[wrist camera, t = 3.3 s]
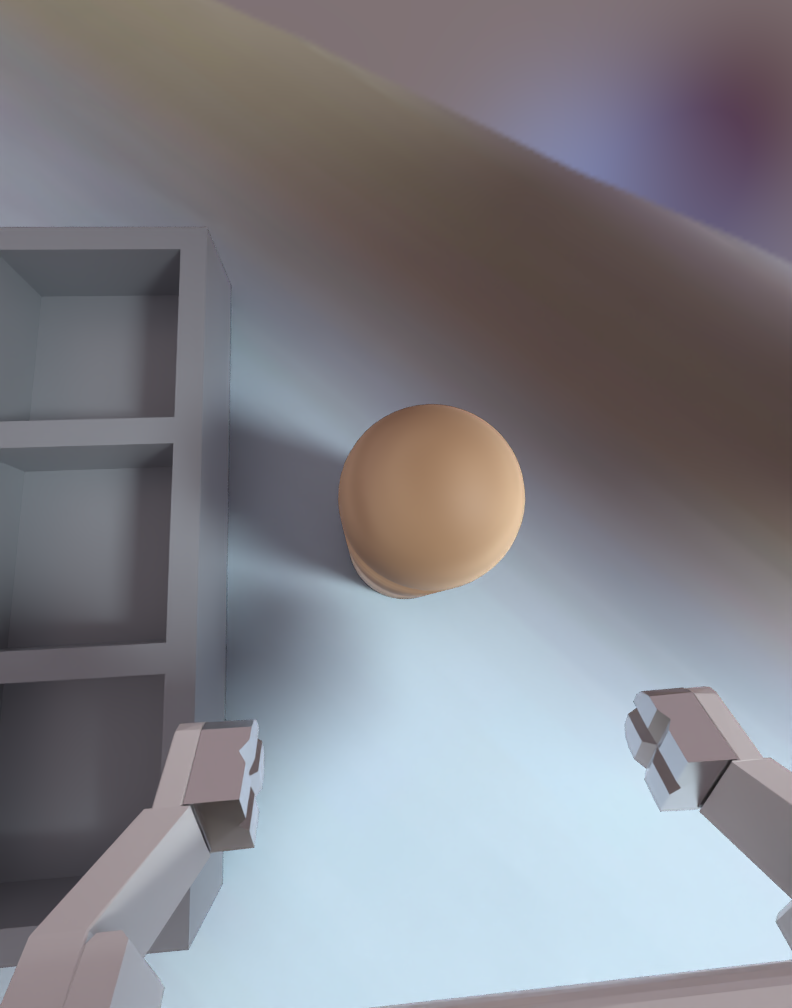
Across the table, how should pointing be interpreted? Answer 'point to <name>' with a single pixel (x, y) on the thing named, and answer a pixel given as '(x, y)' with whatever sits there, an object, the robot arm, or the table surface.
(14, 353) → the grey compartment tray
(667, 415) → the table surface
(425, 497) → the tan domed cylinder
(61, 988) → the robot arm
